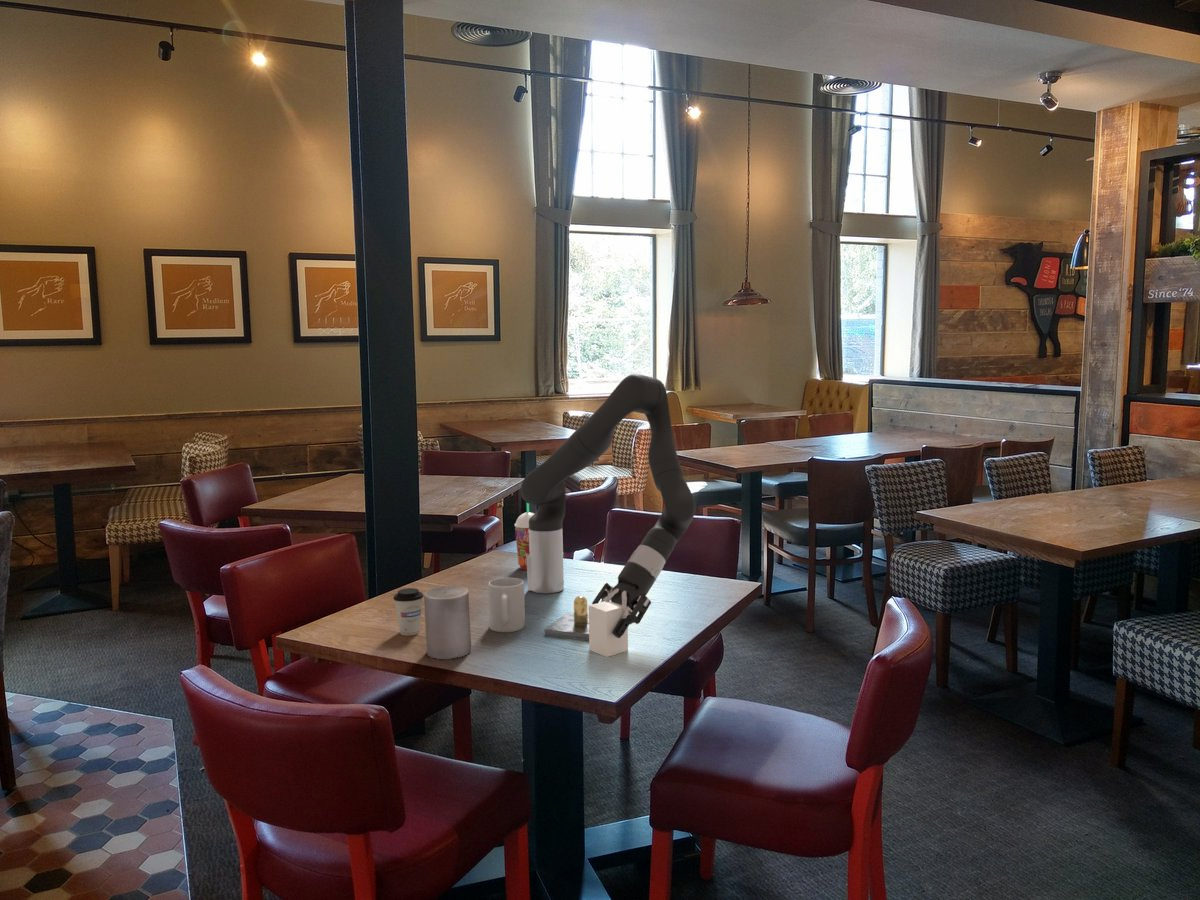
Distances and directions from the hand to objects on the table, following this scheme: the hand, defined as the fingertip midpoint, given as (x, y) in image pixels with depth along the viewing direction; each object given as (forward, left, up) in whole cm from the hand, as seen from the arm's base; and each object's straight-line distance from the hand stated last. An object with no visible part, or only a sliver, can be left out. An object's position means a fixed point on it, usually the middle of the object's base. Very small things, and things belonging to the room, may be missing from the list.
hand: (603, 631), depth 182 cm
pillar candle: (-32, -11, -5) cm, 34 cm away
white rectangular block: (+1, +1, -5) cm, 5 cm away
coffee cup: (-48, -2, -5) cm, 49 cm away
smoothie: (-47, +61, -5) cm, 78 cm away
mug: (-27, +7, -5) cm, 29 cm away
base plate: (-10, +12, -5) cm, 17 cm away
